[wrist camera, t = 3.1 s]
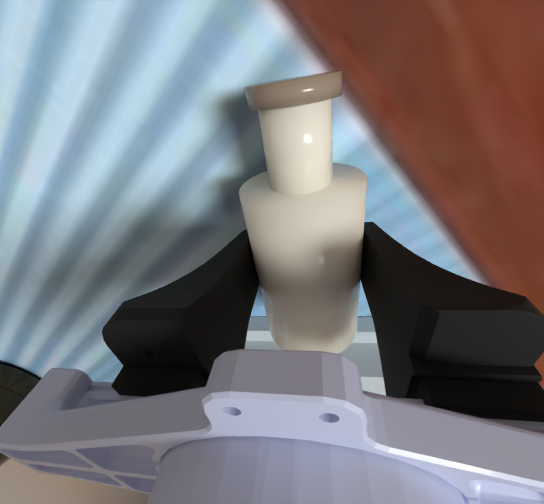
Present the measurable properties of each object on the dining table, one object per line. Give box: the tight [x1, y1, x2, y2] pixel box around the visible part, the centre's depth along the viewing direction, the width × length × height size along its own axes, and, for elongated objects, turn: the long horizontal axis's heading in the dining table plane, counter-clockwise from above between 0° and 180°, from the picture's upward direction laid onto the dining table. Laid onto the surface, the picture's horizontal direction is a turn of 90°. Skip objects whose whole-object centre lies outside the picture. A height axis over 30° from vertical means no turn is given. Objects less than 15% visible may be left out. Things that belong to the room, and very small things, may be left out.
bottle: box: [239, 71, 367, 354], centre depth 11 cm, size 11×5×5 cm, turn 8°
